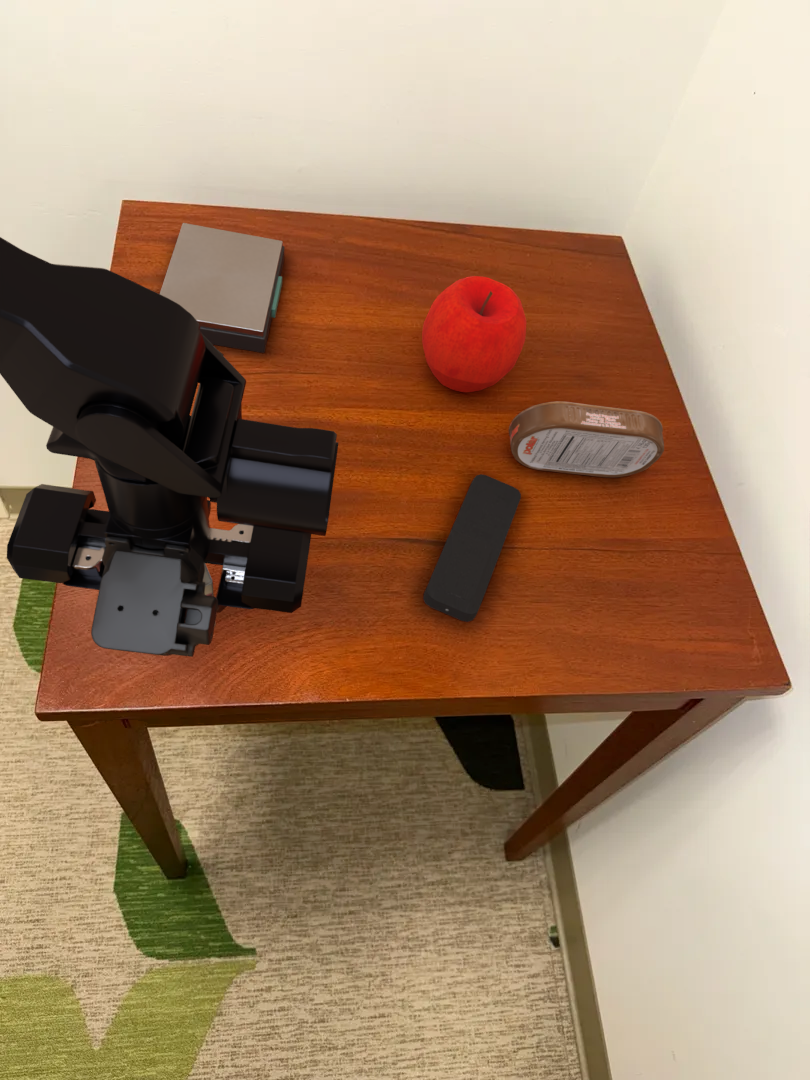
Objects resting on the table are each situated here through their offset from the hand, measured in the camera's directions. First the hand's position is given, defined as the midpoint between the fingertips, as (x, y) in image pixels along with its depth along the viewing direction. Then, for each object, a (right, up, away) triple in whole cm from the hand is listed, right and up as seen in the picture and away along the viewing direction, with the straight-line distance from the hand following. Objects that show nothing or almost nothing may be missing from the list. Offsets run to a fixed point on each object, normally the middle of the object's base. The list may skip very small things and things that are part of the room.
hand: (177, 601), depth 58 cm
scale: (-2, +30, +22) cm, 38 cm away
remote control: (+24, +4, +12) cm, 27 cm away
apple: (+23, +21, +22) cm, 38 cm away
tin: (+34, +12, +19) cm, 41 cm away
